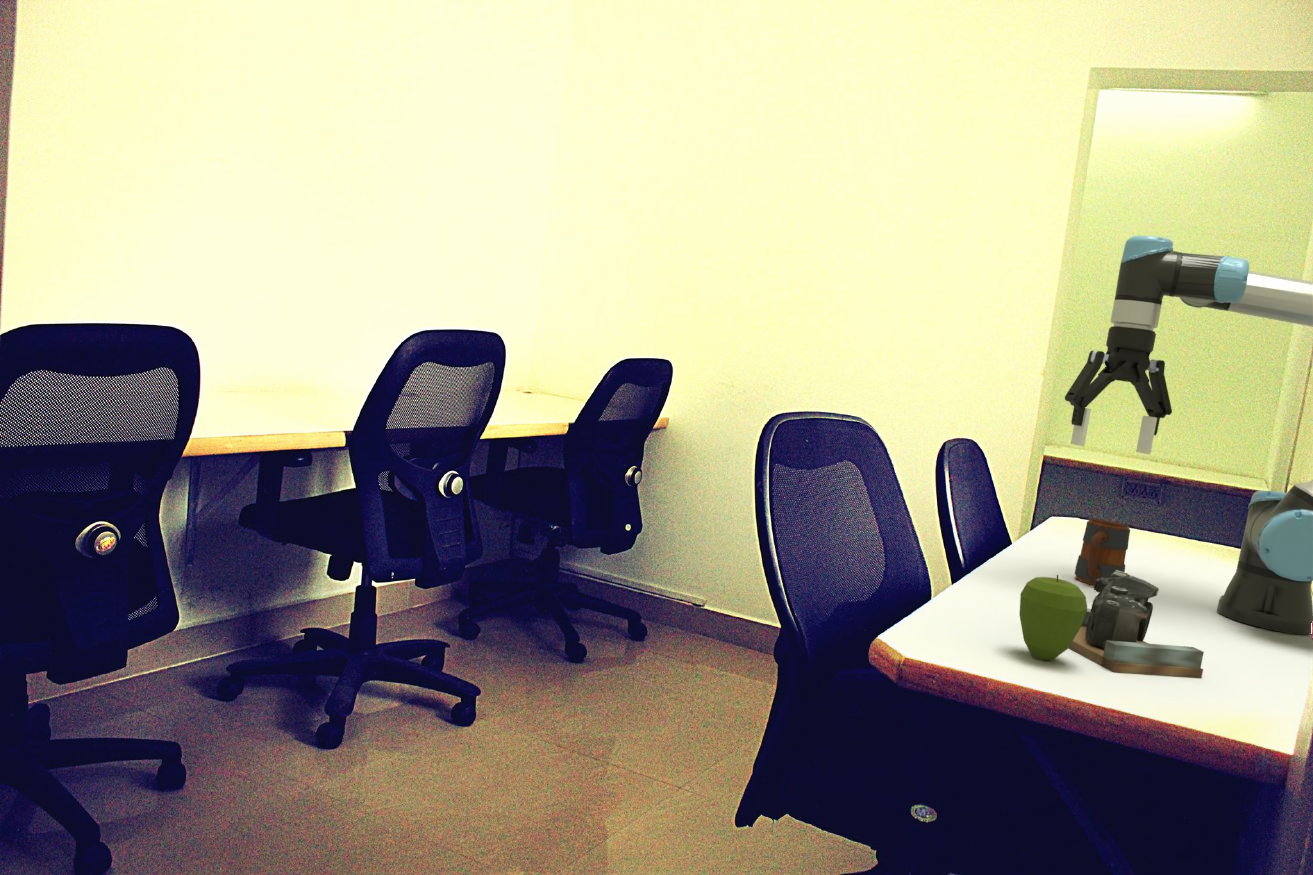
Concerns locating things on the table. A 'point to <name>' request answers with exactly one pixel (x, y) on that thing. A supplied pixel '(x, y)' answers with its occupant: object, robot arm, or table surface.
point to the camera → (1120, 609)
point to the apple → (1050, 615)
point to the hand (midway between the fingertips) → (1110, 449)
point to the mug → (1102, 550)
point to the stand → (1140, 656)
